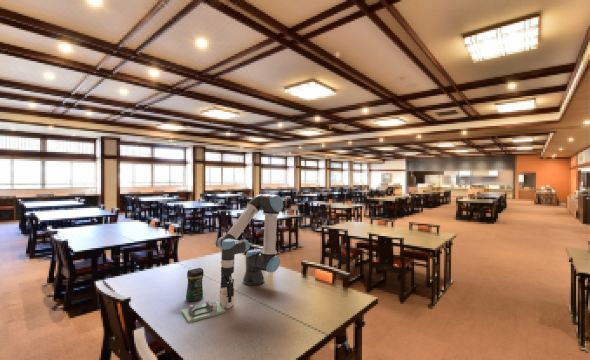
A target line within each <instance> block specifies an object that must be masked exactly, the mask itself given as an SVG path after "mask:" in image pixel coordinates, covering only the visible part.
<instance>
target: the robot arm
mask: <svg viewBox="0 0 590 360" xmlns="http://www.w3.org/2000/svg"><path fill="white" fill-rule="evenodd" d="M283 208H284V201H283V198H282V197H281V196H280V195H278V194H275V193H274V194H271V193H270V194H269V193H268V194H267V193H260V194H257V195H256V196H254V197H253V198H252V199H251V200H250V201H249V202H248V203H247V204H246V208H245V209H244V210H243V212H242V213H241V214H240V216H239V217H237V219H236V220H235V222H234V224H233V225H232V226H231V227H230V229H229V230H228V232H227V233H226V234H225V235H224V236H221V237H219V238H218V239H217V242H216V245H217V247H218V248H219V249H221V261H220V266H221V267H220V277H221V278H220V286H219V287H220V288H224V287H227V295H228V296H226V297H227V306H226V309H229V308H232V306H231V302H232V296H234V297H235V287H234V285H235V284H234V283H235V279H234V278H233V277H232V275H233V274H234V273H235V255H238V254H242V253H245V254H246V255H245V272H244V276H243V278H242V284H244V285H246V284H247V286H257V285H256V284H259V285H261V284H260V283H262V282H263V281H264V282H265V278H264V274H263V271H264V272H267V273H275V272H277V270H278V269H279V267H280V265H281V258H280V256H279V255H278V251H277V250H276V243H277V223H278V216H279V215H280V212H281V211H282V210H283ZM260 211H262V214H263V215H264V227H263V247H262V249H259V248H258V249H257V248H254V249H250V248H251V246H250V242H249V240H247V239H238V238H239V237H240V235H241V234H242V233H243V231H244V230H245V229H246V227H247V226H248V225H249V223H250V222H251V220H253V218H254V217H255V215H257V214H258V213H259V212H260ZM249 249H250V250H249ZM264 282H263V283H264ZM263 283H262V284H263ZM220 288H219V289H220Z"/></svg>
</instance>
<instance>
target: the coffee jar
mask: <svg viewBox="0 0 590 360" xmlns="http://www.w3.org/2000/svg"><path fill="white" fill-rule="evenodd" d="M204 275H205V274H204V269H203V268H202V267H197V268H196V267H195V268H193V269H188V270H187V272H186V278H187V288H186V295H185V299H186V300H187V301H188V302H195V301H199V300H202V299H203V298H204V297H203V296H204V291H203V289H204V288H203V278H204Z"/></svg>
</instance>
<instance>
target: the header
mask: <svg viewBox="0 0 590 360" xmlns="http://www.w3.org/2000/svg"><path fill="white" fill-rule="evenodd" d="M205 304H206V306H204V307H200V308H196V309H194V308H193V307H194V305H193V304H190V305H188V308H189V313H190V315H191V316H192V317H195V316H198V315H202V314H206V313H209V312H213V305H212V304H211V303H210V301H209V300H206V302H205ZM203 308H207V309H208V310H209V311H206V312H202V313H199V314H195V310H199V309H203Z"/></svg>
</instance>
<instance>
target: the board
mask: <svg viewBox="0 0 590 360" xmlns="http://www.w3.org/2000/svg"><path fill="white" fill-rule="evenodd" d="M209 302H210V301H209ZM210 303H211V304H212V305H213V312H209V313H206V314H202V315H198V316H195V317H192V316H191V315H190V313H189V307H187V308H183V309H181V314H182V315H183V316H184V318H185V320H186V322H187V324H189V323H194V322H196V321H200V320H203V319H207V318H210V317H215V316H218V315H221V314H225V313H226V311H227V310H226V309H225V308H223V307H222V306H221V305H220V302H218V301H217V300H216V301H211V302H210ZM204 306H206V303H203V304H199V305H196V306H193V308H194V309H196V308H200V307H204ZM206 311H209V310H208V309H207V308H203V309H199V310H195V314H199V313H202V312H206Z"/></svg>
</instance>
